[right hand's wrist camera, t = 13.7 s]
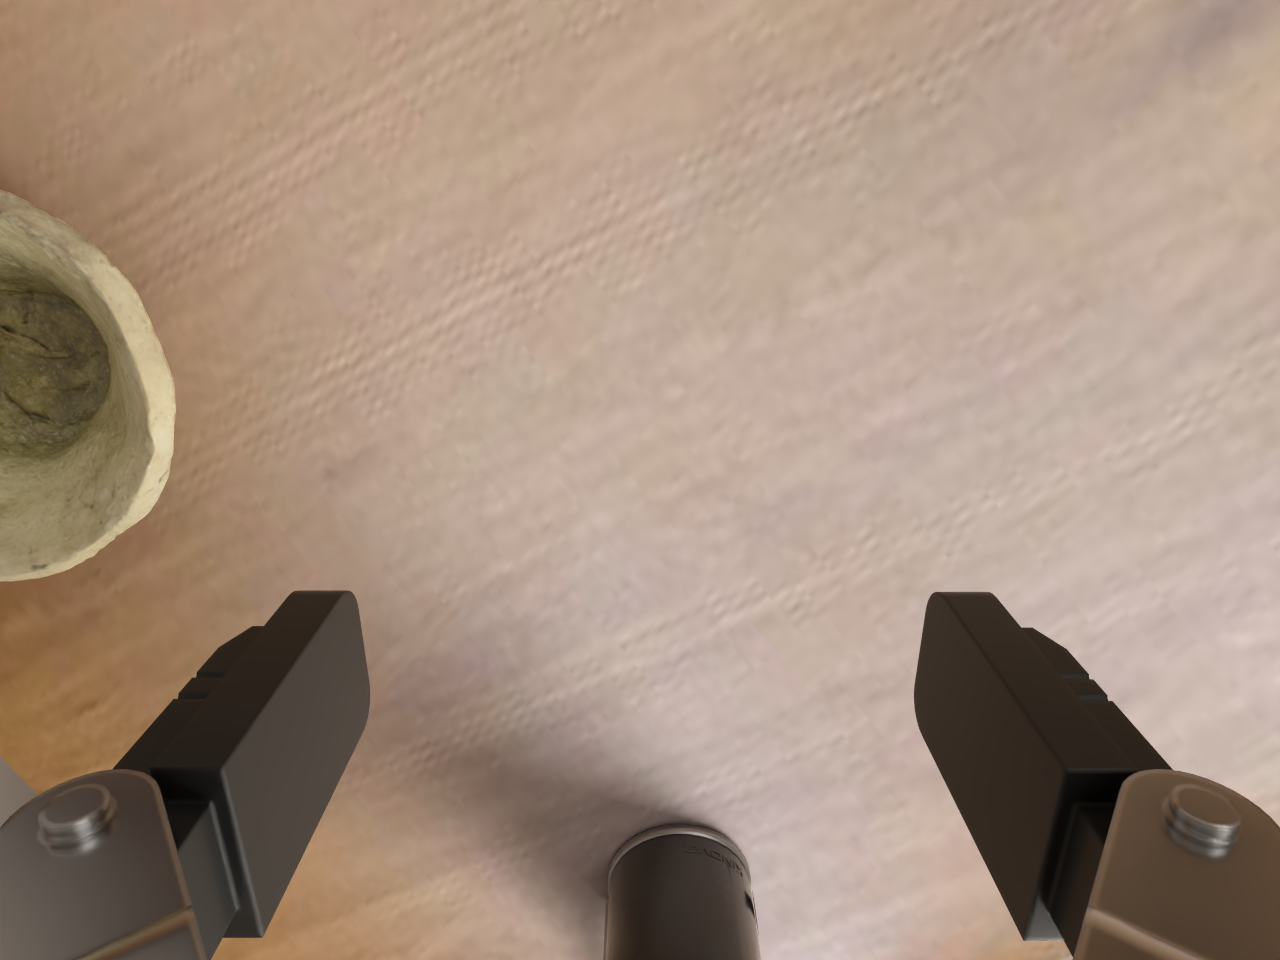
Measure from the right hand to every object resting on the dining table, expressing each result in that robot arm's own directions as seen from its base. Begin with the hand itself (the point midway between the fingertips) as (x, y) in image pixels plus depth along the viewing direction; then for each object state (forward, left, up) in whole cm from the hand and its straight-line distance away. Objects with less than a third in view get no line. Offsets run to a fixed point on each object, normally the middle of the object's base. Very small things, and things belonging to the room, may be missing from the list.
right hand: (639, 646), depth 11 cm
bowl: (-16, +24, -30) cm, 42 cm away
